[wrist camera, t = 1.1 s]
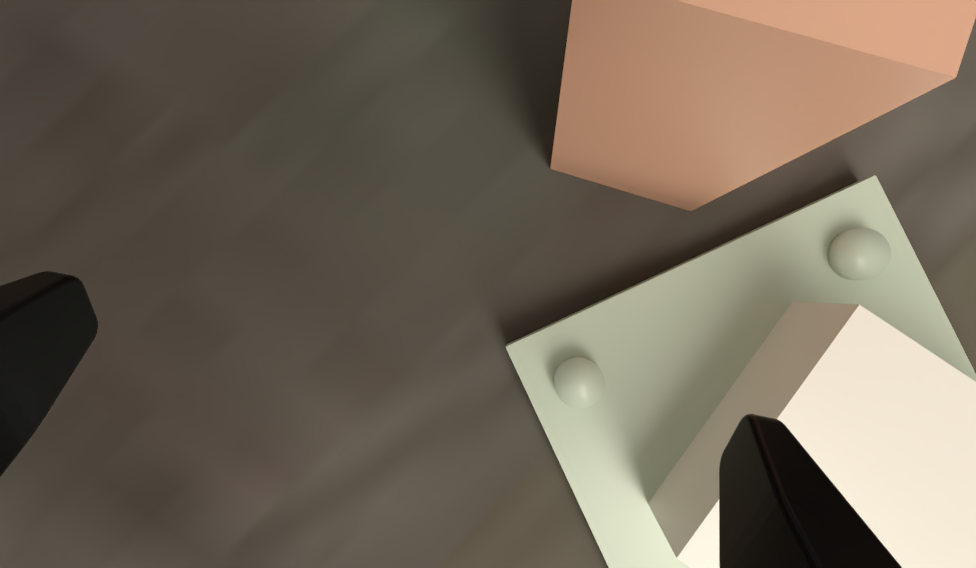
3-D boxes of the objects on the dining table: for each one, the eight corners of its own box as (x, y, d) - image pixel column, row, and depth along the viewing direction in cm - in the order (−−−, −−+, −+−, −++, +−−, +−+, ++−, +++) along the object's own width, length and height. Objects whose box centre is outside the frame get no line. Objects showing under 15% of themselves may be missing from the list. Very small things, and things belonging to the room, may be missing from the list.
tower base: (1081, 625, 19) (1270, 741, 14) (709, 775, 20) (765, 933, 15) (858, 180, 20) (965, 145, 15) (506, 344, 21) (498, 361, 16)
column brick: (690, 211, 21) (956, 77, 8) (550, 168, 21) (575, -28, 8) (736, 71, 21) (1082, -305, 8) (594, 30, 21) (692, -393, 8)
